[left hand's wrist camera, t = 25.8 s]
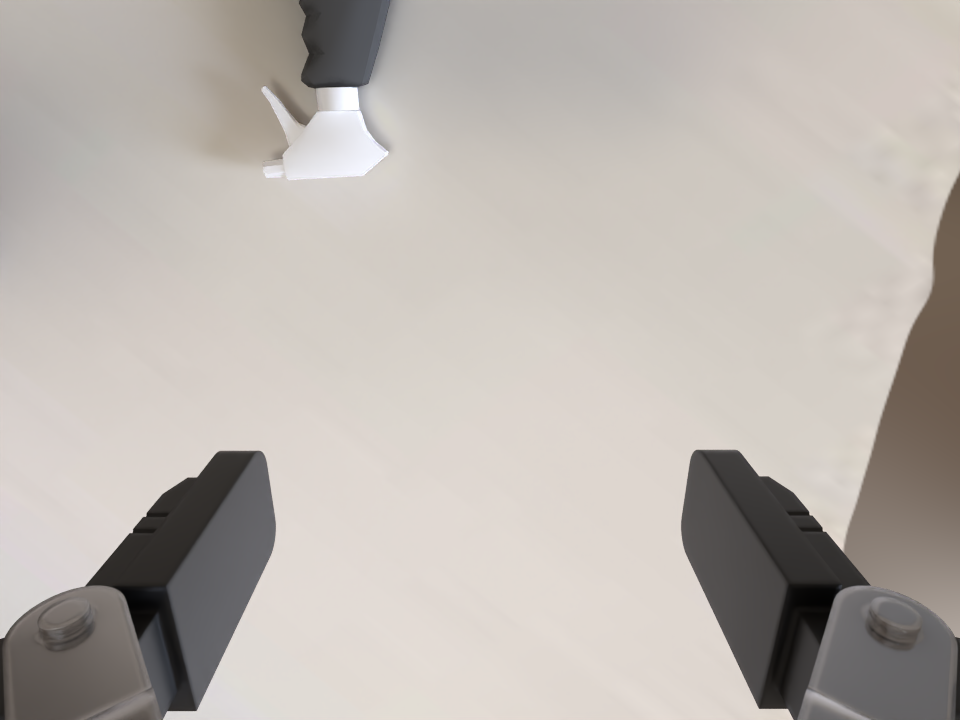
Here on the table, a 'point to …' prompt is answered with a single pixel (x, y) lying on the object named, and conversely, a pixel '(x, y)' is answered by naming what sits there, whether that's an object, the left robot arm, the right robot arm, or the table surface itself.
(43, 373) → the table surface
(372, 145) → the spray bottle
